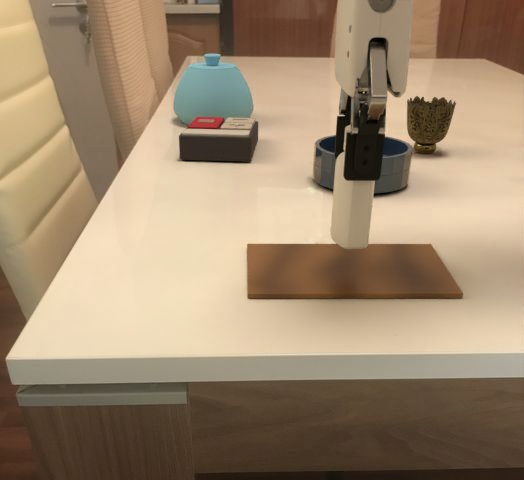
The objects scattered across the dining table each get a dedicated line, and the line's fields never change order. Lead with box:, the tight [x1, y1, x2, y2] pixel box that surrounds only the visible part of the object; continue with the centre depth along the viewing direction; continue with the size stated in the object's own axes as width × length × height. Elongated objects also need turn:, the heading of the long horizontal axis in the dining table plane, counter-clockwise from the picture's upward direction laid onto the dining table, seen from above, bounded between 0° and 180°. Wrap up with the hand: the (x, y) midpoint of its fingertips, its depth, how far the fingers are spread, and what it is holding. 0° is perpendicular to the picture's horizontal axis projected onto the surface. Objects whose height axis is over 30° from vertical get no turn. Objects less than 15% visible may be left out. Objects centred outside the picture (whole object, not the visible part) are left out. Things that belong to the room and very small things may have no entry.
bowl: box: [312, 134, 414, 194], centre depth 89 cm, size 13×13×5 cm
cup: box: [406, 95, 457, 155], centre depth 102 cm, size 8×7×8 cm
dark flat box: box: [178, 117, 259, 163], centre depth 103 cm, size 11×4×15 cm
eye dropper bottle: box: [330, 111, 375, 249], centre depth 60 cm, size 4×6×12 cm
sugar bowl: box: [173, 53, 254, 126], centre depth 119 cm, size 15×15×12 cm
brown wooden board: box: [246, 243, 464, 299], centre depth 64 cm, size 20×12×1 cm, turn 91°
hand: (356, 167), depth 59 cm, fingers closed on eye dropper bottle, 5 cm apart
